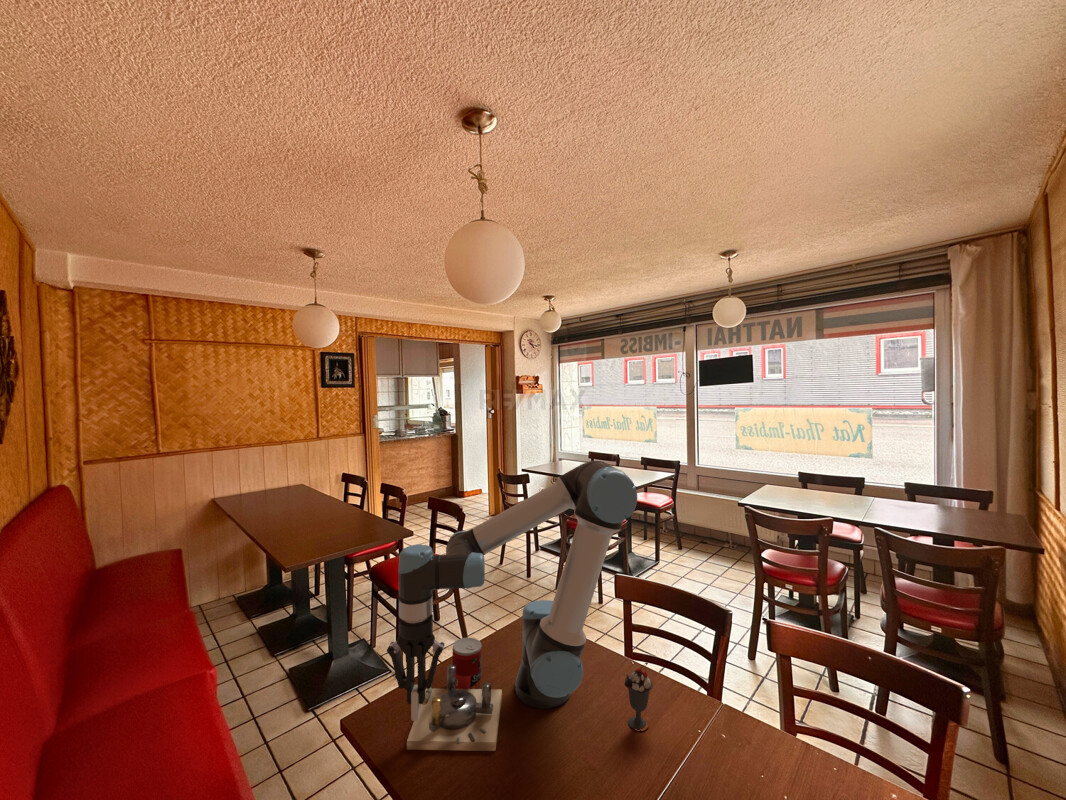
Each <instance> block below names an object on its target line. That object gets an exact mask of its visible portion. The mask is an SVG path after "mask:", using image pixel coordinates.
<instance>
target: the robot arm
mask: <svg viewBox="0 0 1066 800" xmlns="http://www.w3.org/2000/svg"><path fill="white" fill-rule="evenodd" d="M637 503H638V492H637V488H636V485H635V484H634V482H633V480H632V479H631V477H629V476H628V475H627V474H626V473H625V472H624V471H623V470H622V469H618V467H614V466H613V465H610V464H609V463H607V462H605V461H602V460H590V461H587V462H585V463H582V464H580V465H578V466H576V467H574V468H572V469H570V470H568V471H566V473H563V474H562V475H560V476H557V479H556V480H555V483H552V484H551V485H550V486H549V485H548V487H545V488H543V489H542V490H540V491H538V492H536V493H535V494H533V495H531V496H528V497H527V498H525V499H523V500H522V501H520V502H518V503H517V504H515V505H512V506H511V507H509V508H507V509H505V510H503V511H501V512H500V513H498V514H496V515H495V516H493V517H491V518H489V519H487V520H485V521H483V522H482V523H479V524H478V525H475V526H474V527H472V528H470V529H469V530H460V531H456V532H454V533H453V534H452V535H450V537H449V538H448V541H447V543H446V546H445V554H434V551H433V547H431V546H430V545H428V544H413V545H412V544H411V545H408V546H406V547H404V548H403V549H402V550H401V551H400V553H399V556H398V558H399V559H398V570H397V573H398V617H399V618H398V637H397V639H396V641H391V642H390V644H388V647H387V648H386V651H387V653H388V655H389V656H390V658H391V661H392V665H393V670H394V675H395V678H396V682H397V686H398V689H401V690H402V689H405V690H406V703H407V704H408V705H410V708H411V709H410V711H411V712H410V713H411V716H410V717H411V718H410V719H411V720H410V721H413V722H414V721H418V719H419V716H420V713H421V704H423V702H424V699H425V691H426V688H427V689H430V688H431V687H432V685H433V682H434V679H435V675H436V671H437V666H438V662H439V658H440V656H441V654H442V653H443V650H444V648H445V643H444V641H441V642H439V641H437V640H436V637H435V635H434V630H433V627H434V623H433V622H434V619H433V617H434V615H433V609H434V608H433V607H434V605H433V598H434V597H433V592H434V591H438V590H451V589H452V590H453V589H456V590H457V589H467V590H469V589H471V588H479V587H482V586H484V585H485V580H486V577H485V576H486V575H485V574H486V573H485V572H486V568H485V563H486V562H485V556H486V554H489V553H490V552H492V551H494V550H496V549H498V548H499V547H501V546H503V545H505V544H507V543H509V542H510V541H512V540H514V539H516V538H517V537H519V536H521V535H523V534H525V533H527V532H529V531H530V530H532V529H534V528H536V527H538V526H540V525H541V524H544V523H545V522H547V521H549V520H550V519H551V520H552V518H554V517H556V516H557V515H560V514H561V513H563V512H565V511H567V510H569V509H571V510H574V512H573V515H574V516H575V518H576V520H577V524H576V527H575V531H574V534H573V536H572V537H573V538H572V540H571V543H570V547H569V549H568V553H567V557H566V559H565V562H564V565H563V569H562V572H561V575H560V579H559V582H558V585H557V588H556V591H555V595H554V598H553V600H547V599H545V600H544V599H543V600H541V599H540V600H535V601H530V602H529V603H527V604H525V606H523V607H522V608H523V609H522V615H521V619H522V639H521V640H522V641H521V643H522V645H521V651H522V652H521V653H522V654H521V658H522V659H521V661H520V665H519V669H518V672H517V674H516V677H515V694H516V696H517V697H518V699H519V700H520V701H521V702H523V703H524V704H526V705H527V706H529V707H531V708H536V709H541V710H542V709H554V708H556V707H560V706H561V705H563V704H564V703H566V702H567V701H568V700H569V698H571V694H572V693H573V692H575V691H576V690H577V689H578V687H580V685H581V683H582V681H583V677H584V664H583V662H582V660H581V658H582V655H583V651H584V649H585V645H586V642H587V636H586V633H585V632H584V626H585V623H586V620H587V616H588V613H589V609H590V608H591V603H592V600H593V597H594V593H595V590H596V587H597V584H598V580H599V578H600V574H601V572H602V568H603V564H604V562H605V558H606V555H607V553H608V549H609V546H610V543H611V539H612V536H613V534H615V533H619V532H620V531H621V530H622V526H623V523H624V521H625V520H627V519H628V518H630V517H631V516H632V514H633V513H634V512H635V510H636V507H637ZM431 647H432V653H433V656H432V659H431V664H430V666H429V671H428V675H427V673H426V672H427V671H426V669H427V668H426V666H427V664H426V661H427V660H426V656H427V653H428V652H429V651H430V649H431ZM401 651H402V653H403V654H404V655H405V663H406V664H405V666H406V669H405V667H404V662H403V659H402V658H403V657H402V654H401ZM415 658H416V659H415ZM415 660H416V661H415ZM415 663H417V684H415V682H416V680H415V671H416V669H415V667H416V666H415ZM405 670H406V671H405ZM426 676H427V677H426Z"/></svg>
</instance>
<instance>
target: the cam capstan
mask: <svg viewBox="0 0 1066 800" xmlns="http://www.w3.org/2000/svg"><path fill="white" fill-rule="evenodd" d="M481 684H482V685H481V689H482V703H477V701H476V698H475V696H474V695H473V694H471V693H470V692H467V691H464V690H456V688H455V686H456V666H455V665H454V664H453V663H450V664H448V665H447V666H446V689H447V690H448V692H447V693H445V694H443V695H442V696H441V697H439V696H436V697H434V698H432V721H431V722H430V723H429V729H430V730H431V731H432V732H435V731H436V730H437V729H439V728H440V727H442V728H444V729H449V730H456V729H461V728H463V727H466V726H467V725H469V724H470V723H471V722H472V721H473V720H474V719H475V717H476V713H482V714H492V712H493V704H491V689H492V683H491V682H484V683H481Z"/></svg>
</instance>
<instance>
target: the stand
mask: <svg viewBox="0 0 1066 800" xmlns="http://www.w3.org/2000/svg"><path fill="white" fill-rule="evenodd" d="M456 690H464V691H467V692H470V693H471V694H473V695H474V696H475V698H476V701H477V703H482V688H478V689H456ZM502 690H503V689H495V688H494V689H492V688H491V704H493V712H492V714H482V713H476V717H475V719H474V720H473V721H472V722H471V723H470V724H469V725H467V726H466V727H463V728H461V729H456V730H449V729H444V728H442V727H440V728H439V729H437V730H436V731H435V732H432V731H431V730H430V729H429V723H430V722H431V721H432V698H434V697H436V696H439V697H441V696H442V695H443V694H445V693H447V692H448V690H447V688H433V687H432V686H431V688H430V689H427V688H426V689H425V699H424V702H423V704H421V713H420V716H419V719H418V721H413V722H412V726H411V729H410V731H409V734H408V736H407V737H408V738H407V740H406V750H410V751H412V750H415V751H416V750H417V751H419V750H420V751H427V750H428V751H468V752H469V751H472V752H473V751H474V752H475V751H479V752H495V751H496V749H497V744H498V743H497V742H498V733H499V723H500V716H501V707H502V700H503V699H502V698H503V691H502Z"/></svg>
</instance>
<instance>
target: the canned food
mask: <svg viewBox="0 0 1066 800" xmlns="http://www.w3.org/2000/svg"><path fill="white" fill-rule="evenodd" d="M482 655H483V654H482V642H481V641H480V640H479V639H477V638H475V637H462V638H459V639H456V641H454V642H453V645H452V664H454V665H455V666H456V686H455V688H456V689H480V687H481V684H482V664H483V663H482V660H483V659H482V658H483V657H482Z"/></svg>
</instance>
